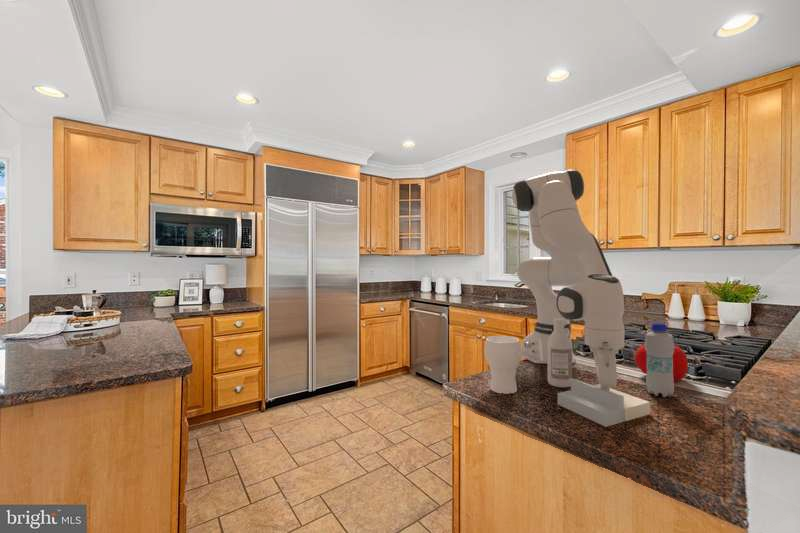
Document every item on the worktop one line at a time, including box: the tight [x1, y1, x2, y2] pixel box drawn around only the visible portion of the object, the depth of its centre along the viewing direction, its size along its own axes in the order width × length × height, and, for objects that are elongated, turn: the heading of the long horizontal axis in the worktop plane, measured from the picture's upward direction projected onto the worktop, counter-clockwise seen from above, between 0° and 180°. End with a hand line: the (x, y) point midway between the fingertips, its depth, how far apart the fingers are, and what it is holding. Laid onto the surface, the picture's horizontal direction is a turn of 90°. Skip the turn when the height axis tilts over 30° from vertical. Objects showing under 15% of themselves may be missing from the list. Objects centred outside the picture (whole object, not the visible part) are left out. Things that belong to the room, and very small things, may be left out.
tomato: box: [634, 343, 689, 382], centre depth 111 cm, size 12×14×11 cm
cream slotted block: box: [593, 383, 651, 422], centre depth 91 cm, size 14×9×3 cm, turn 22°
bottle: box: [644, 322, 675, 398], centre depth 99 cm, size 7×7×20 cm
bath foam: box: [546, 318, 573, 388], centre depth 109 cm, size 7×7×20 cm
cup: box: [484, 335, 522, 395], centre depth 106 cm, size 11×11×15 cm
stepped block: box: [556, 378, 625, 428], centre depth 89 cm, size 14×6×6 cm, turn 22°
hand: (604, 392), depth 90 cm, fingers closed
